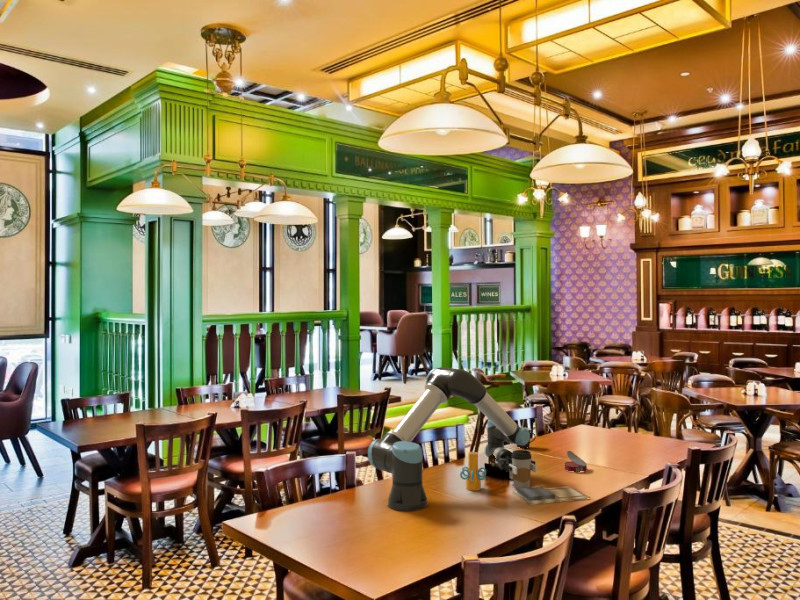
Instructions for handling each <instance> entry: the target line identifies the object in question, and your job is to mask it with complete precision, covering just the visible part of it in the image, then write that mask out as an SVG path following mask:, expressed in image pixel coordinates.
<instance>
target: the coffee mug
mask: <svg viewBox="0 0 800 600" xmlns="http://www.w3.org/2000/svg"><path fill="white" fill-rule="evenodd" d="M524 428H525V429H527V430H528V431H529V433H530V436H531V435H533V436H534V438H533V439H532V440H531V438H530V439H529V441H528V443H527V444H526V445H517V444H516V448H517V447H520V448H527V447H529V448H530V444H531V443H532V442H534V441H536V438H537V437H536V434H535V433H533V432H532V428H529V427H524Z"/></svg>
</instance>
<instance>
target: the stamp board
mask: <svg viewBox="0 0 800 600" xmlns="http://www.w3.org/2000/svg"><path fill="white" fill-rule="evenodd" d="M511 493H512V494H513V495H514V496H515V497H518V498H519V499H520V500H522V502H524V503H526V504H528V505H529V506H533V505H543V504H544V505H545V504H555V503H554V502H556V503H563V502H562V501H567V502H571V501H570V500H577V499H587V498H590V499H591V496H588V495H587V494H585V493H583V492H582V491H579V490H577V489H576V488H575V487H572V486H570V485H568V486H557V487H543V486H538V487H529V488H523V489H516V490H512V492H511ZM577 501H578V500H577Z"/></svg>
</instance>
